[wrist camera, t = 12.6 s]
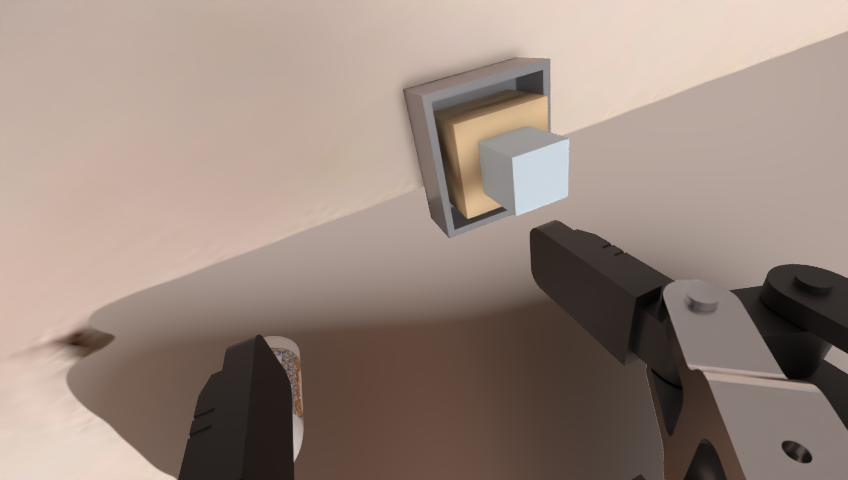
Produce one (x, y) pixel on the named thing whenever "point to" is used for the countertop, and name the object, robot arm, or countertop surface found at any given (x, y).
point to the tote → (454, 91)
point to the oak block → (477, 123)
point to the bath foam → (291, 381)
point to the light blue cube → (525, 168)
